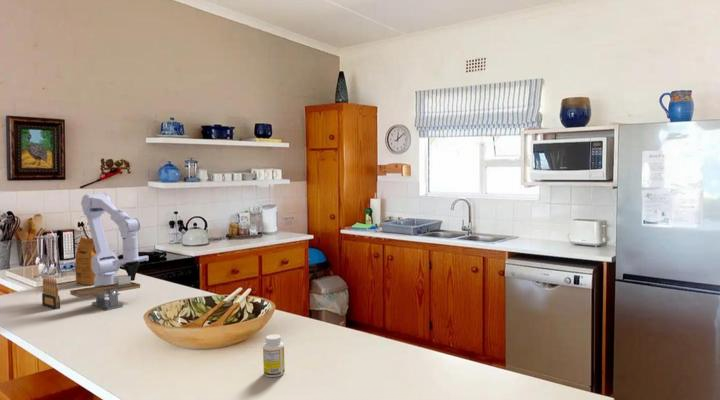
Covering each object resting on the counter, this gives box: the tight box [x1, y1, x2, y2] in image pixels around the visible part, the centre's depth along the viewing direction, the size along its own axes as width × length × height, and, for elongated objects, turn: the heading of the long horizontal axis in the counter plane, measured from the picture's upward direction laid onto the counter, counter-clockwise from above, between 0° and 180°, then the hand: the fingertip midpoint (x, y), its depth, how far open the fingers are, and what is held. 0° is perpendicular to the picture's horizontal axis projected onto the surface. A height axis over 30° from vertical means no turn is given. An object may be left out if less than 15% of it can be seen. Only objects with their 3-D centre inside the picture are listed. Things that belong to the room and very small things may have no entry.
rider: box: [113, 274, 132, 287], centre depth 214 cm, size 4×5×4 cm
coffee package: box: [74, 236, 104, 286], centre depth 248 cm, size 10×12×22 cm
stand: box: [91, 285, 124, 311], centre depth 208 cm, size 13×6×8 cm, turn 52°
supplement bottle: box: [262, 333, 286, 378], centre depth 140 cm, size 6×6×10 cm
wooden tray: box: [69, 281, 141, 298], centre depth 208 cm, size 9×24×2 cm, turn 142°
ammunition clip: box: [41, 276, 61, 310], centre depth 208 cm, size 11×2×12 cm, turn 56°
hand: (131, 280), depth 216 cm, fingers closed
